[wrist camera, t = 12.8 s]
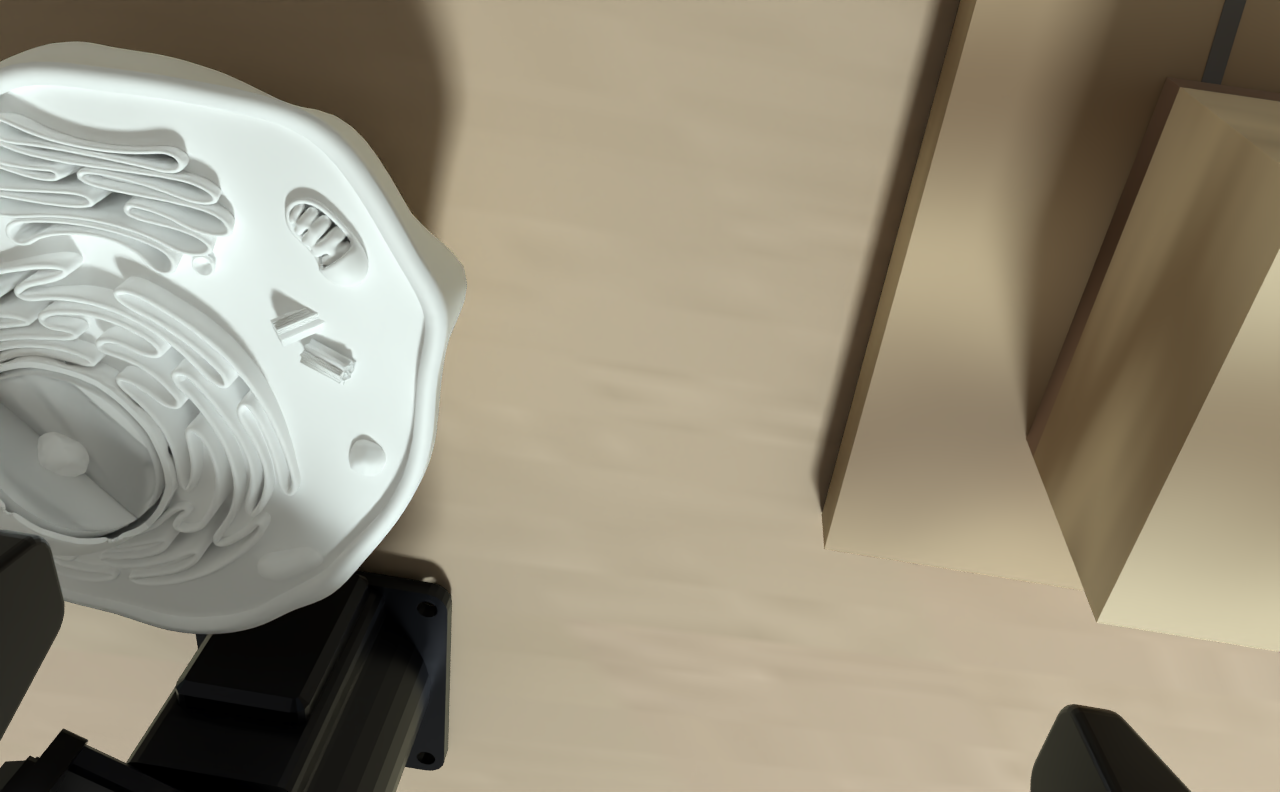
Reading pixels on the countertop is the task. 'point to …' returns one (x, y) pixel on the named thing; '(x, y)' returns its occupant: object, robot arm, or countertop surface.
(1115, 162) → the board
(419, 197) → the countertop surface
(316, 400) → the cell model
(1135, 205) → the block
